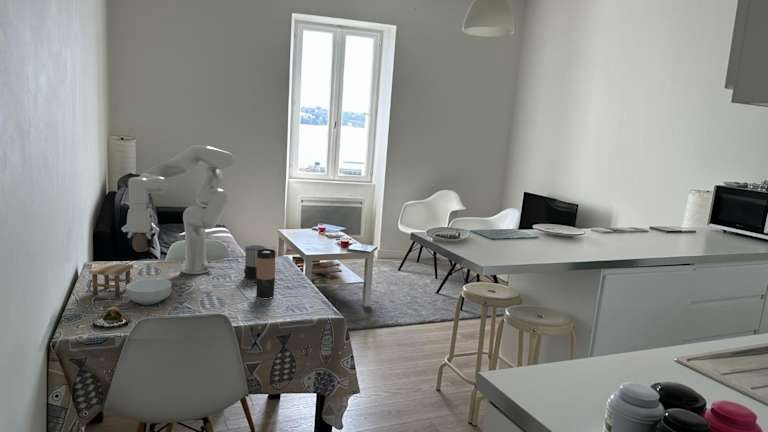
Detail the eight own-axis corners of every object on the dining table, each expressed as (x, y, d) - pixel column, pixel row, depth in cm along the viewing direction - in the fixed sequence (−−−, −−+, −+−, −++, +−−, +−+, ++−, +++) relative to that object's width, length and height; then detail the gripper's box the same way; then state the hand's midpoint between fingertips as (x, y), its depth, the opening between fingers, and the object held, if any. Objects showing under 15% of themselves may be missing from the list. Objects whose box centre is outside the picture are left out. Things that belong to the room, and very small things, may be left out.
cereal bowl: (126, 296, 219) (126, 279, 218) (170, 293, 226) (170, 277, 225) (125, 310, 204) (125, 292, 203) (172, 306, 211) (172, 289, 210)
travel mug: (277, 295, 232) (279, 250, 229) (268, 300, 225) (269, 254, 222) (262, 292, 234) (263, 248, 231) (252, 297, 227) (253, 251, 224)
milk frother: (253, 281, 250) (254, 250, 248) (230, 274, 258) (230, 244, 256) (275, 275, 262) (276, 245, 260) (251, 269, 270) (252, 240, 268)
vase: (153, 249, 236) (152, 229, 234) (144, 253, 229) (143, 233, 228) (138, 248, 237) (137, 228, 235) (129, 252, 230) (128, 232, 228)
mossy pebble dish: (85, 328, 186) (84, 307, 184) (108, 316, 197) (107, 297, 196) (116, 332, 184) (116, 311, 182) (137, 320, 195) (137, 300, 194)
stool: (133, 288, 229) (133, 264, 227) (119, 297, 217) (118, 272, 215) (105, 286, 229) (104, 262, 227) (89, 295, 217) (88, 270, 215)
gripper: (163, 205, 233) (164, 245, 236) (123, 203, 233) (125, 243, 236) (155, 208, 225) (157, 250, 229) (114, 207, 226) (116, 248, 229)
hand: (141, 246), depth 233 cm, fingers closed on vase, 7 cm apart
